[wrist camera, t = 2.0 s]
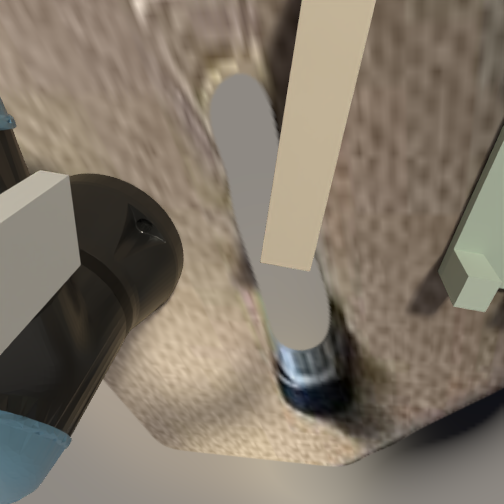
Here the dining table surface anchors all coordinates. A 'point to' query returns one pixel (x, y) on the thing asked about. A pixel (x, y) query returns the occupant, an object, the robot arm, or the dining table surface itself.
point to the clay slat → (313, 125)
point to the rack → (479, 241)
